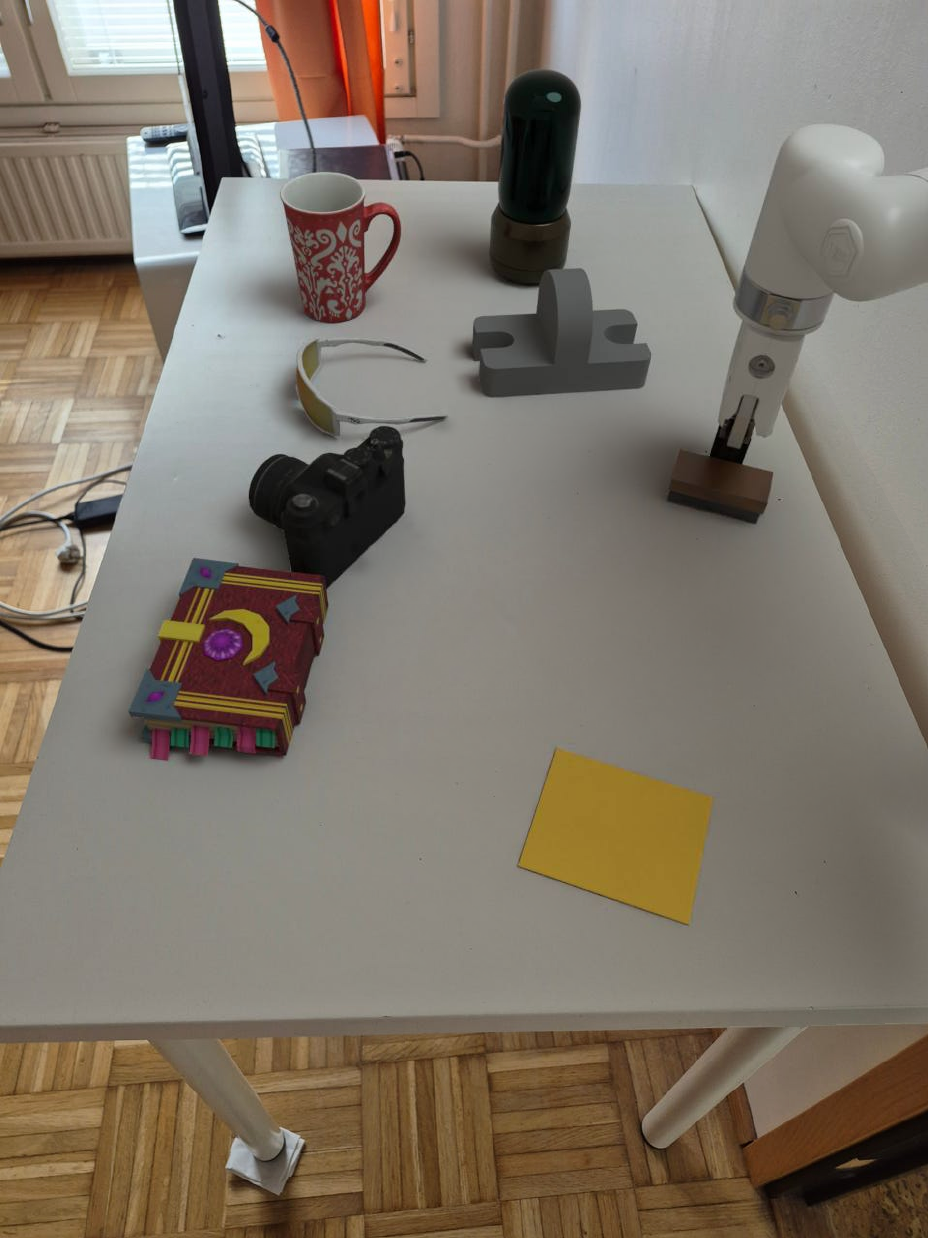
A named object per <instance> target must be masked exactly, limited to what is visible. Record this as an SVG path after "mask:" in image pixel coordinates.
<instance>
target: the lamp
mask: <svg viewBox="0 0 928 1238" xmlns="http://www.w3.org/2000/svg"><path fill="white" fill-rule="evenodd" d="M581 112H582V97H581V94H580V91H579V88H578V87H577V85H576V84H575V82H574V81H573V80H572V79H571V78H570V77H569V76H567V75H566V74H563V73H562V72H560V71H557V70H553V69H549V68H537V69H531V70H527V71H524V72H522V73H521V74H519V75H517V76H516V77H515V78H514V79H513V80H512V81H511V82H510V83H509V85H508V86H507V88H506V90H505V92H504V96H503V102H502V113H501V129H500V145H499V146H500V148H499V161H498V178H497V197H498V203H497V204H496V206H495V208H494V210H493V212H492V213H491V217H490V231H489V246H488V247H489V249H488V258H489V262H490V265H491V267H492V268H493V270H494V271H495V272H496V273H497V274H498V275H499V276H500V277H502V278H504V279H506V280H509V281H511V282H514V283H519V284H524V285H536V284H540V282H541V278H542V275H543V273H544V271H546V270H554V269H565V266H566V263H567V258H568V252H569V251H568V250H569V243H570V235H571V228H572V220H571V216H570V213H569V210H568V207H567V206H568V204H569V200H570V196H571V191H572V190H571V189H572V182H573V175H574V166H575V159H576V150H577V144H578V137H579V127H580V119H581Z"/></svg>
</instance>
